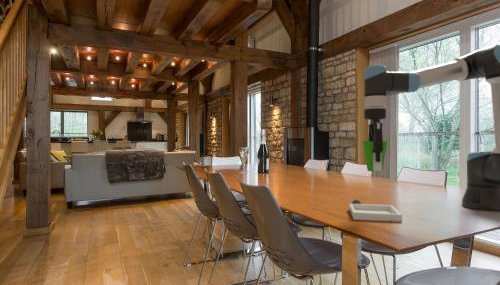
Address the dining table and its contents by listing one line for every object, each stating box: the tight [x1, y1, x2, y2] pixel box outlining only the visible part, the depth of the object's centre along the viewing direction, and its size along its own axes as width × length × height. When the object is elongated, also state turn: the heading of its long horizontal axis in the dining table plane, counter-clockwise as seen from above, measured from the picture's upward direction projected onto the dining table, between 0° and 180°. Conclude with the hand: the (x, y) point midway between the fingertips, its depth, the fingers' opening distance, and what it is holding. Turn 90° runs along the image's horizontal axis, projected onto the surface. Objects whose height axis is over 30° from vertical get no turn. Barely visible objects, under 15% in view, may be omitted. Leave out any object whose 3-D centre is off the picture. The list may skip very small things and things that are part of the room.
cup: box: [361, 140, 389, 173], centre depth 120 cm, size 9×9×11 cm
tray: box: [348, 203, 403, 223], centre depth 121 cm, size 16×16×2 cm
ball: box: [351, 199, 362, 204], centre depth 133 cm, size 4×4×4 cm
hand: (375, 169), depth 120 cm, fingers closed on cup, 9 cm apart
